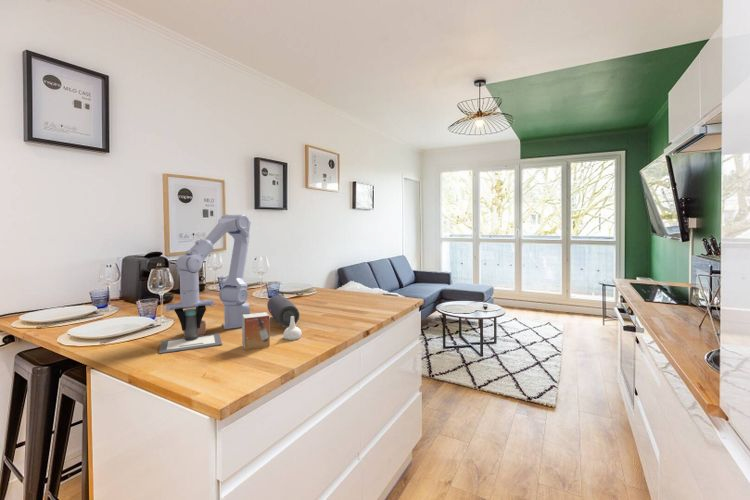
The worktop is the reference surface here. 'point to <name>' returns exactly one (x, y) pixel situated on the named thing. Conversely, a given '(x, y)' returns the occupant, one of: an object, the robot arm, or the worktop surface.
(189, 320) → the marker
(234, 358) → the worktop surface
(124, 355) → the worktop surface
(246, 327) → the small box
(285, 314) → the bluetooth speaker
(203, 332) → the pen cup
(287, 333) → the garlic bulb
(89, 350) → the worktop surface
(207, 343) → the writing mat
